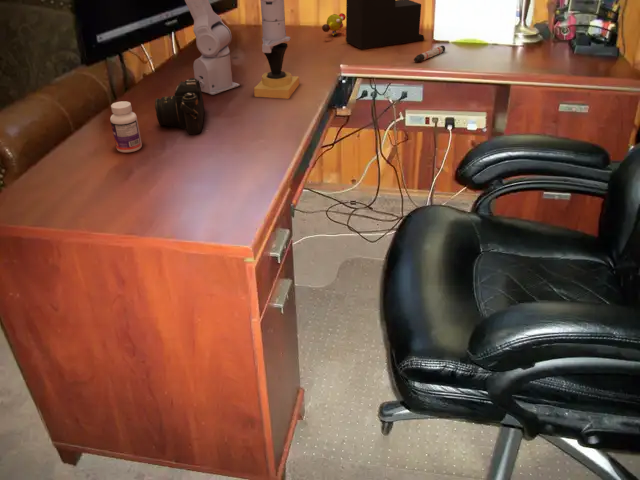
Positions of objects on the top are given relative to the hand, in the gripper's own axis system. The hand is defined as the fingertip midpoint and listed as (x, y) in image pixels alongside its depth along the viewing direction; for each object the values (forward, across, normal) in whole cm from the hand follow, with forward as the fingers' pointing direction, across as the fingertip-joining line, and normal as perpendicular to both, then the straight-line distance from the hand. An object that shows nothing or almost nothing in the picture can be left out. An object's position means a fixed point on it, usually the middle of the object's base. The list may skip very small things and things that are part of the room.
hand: (276, 73), depth 160 cm
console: (+4, 0, 0) cm, 4 cm away
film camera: (+5, -26, +15) cm, 30 cm away
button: (+2, 0, 0) cm, 2 cm away
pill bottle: (+5, -41, +21) cm, 46 cm away
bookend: (+5, +51, -21) cm, 56 cm away
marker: (+5, +36, -36) cm, 51 cm away
